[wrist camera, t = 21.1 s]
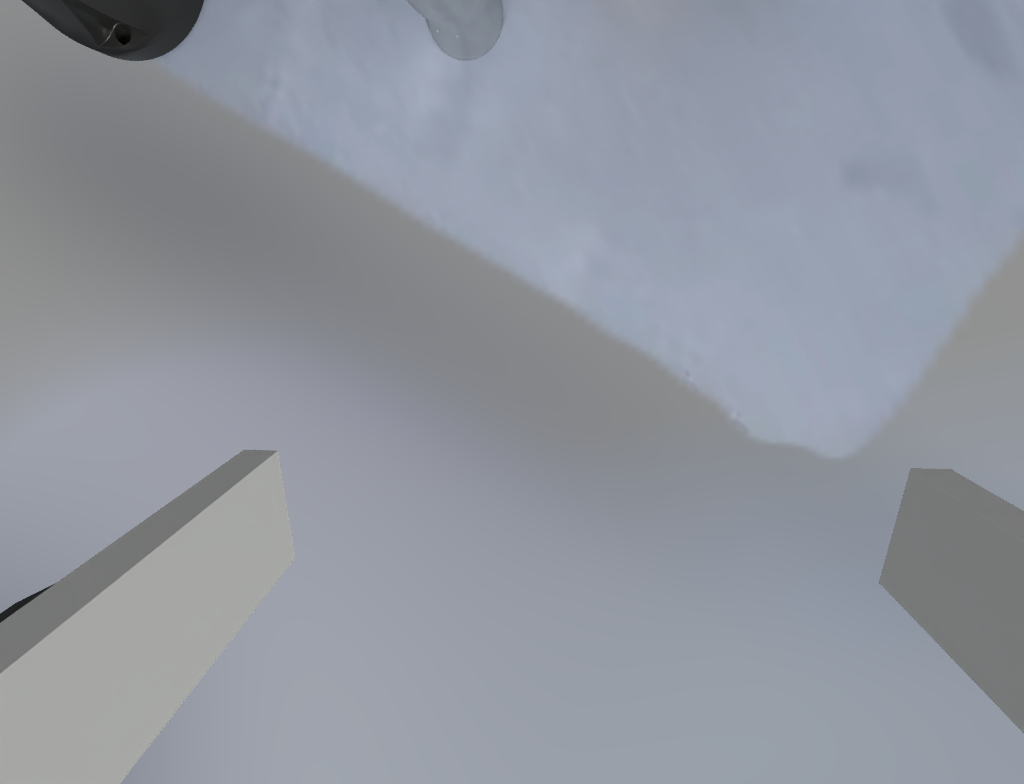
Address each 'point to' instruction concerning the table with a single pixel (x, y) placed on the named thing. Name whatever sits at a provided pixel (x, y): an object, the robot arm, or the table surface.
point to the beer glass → (462, 25)
